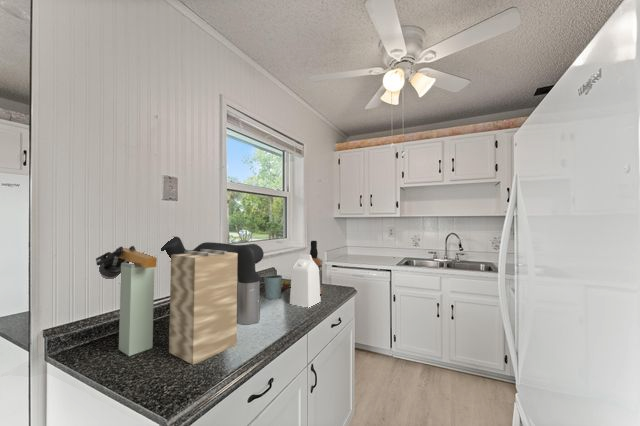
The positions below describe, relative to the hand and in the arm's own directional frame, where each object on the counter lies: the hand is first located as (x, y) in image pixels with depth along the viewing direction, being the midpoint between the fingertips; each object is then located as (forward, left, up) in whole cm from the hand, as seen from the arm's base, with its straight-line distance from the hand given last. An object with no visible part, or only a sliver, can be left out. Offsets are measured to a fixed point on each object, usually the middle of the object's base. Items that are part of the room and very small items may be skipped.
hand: (127, 248), depth 97 cm
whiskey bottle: (-72, -59, -34) cm, 99 cm away
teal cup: (-48, -54, -34) cm, 80 cm away
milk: (-66, -40, -34) cm, 85 cm away
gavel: (-54, -70, -34) cm, 95 cm away
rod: (-5, +4, -4) cm, 7 cm away
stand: (-29, +8, -33) cm, 45 cm away
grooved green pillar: (-6, +5, -33) cm, 34 cm away
